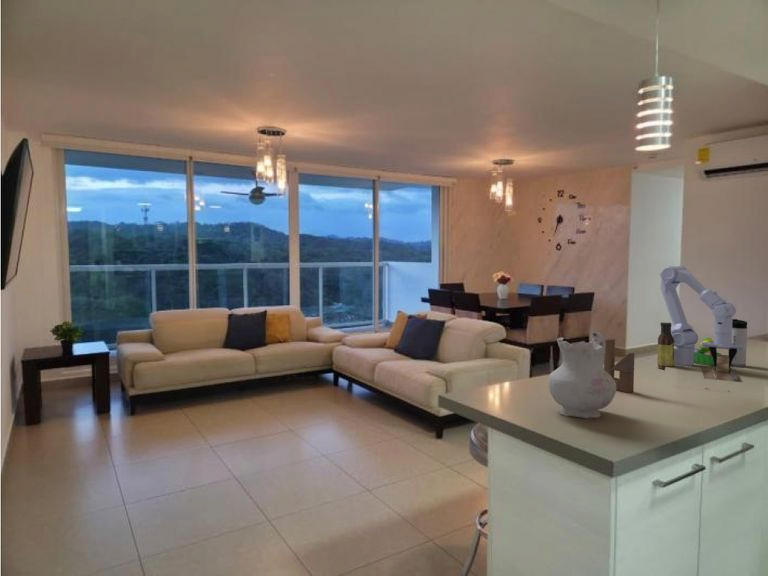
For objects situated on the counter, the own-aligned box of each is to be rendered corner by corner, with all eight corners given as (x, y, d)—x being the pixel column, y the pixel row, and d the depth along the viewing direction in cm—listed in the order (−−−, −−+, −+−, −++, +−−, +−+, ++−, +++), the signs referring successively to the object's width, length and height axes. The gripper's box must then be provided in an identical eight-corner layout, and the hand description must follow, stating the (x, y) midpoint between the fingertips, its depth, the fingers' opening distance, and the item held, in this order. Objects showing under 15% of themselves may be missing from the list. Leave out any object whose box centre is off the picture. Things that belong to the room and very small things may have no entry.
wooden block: (627, 393, 176) (628, 342, 175) (600, 386, 186) (601, 338, 184) (634, 391, 178) (635, 341, 177) (606, 385, 188) (607, 337, 186)
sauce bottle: (676, 370, 210) (677, 323, 208) (660, 370, 211) (661, 323, 209) (670, 367, 216) (671, 321, 215) (654, 366, 217) (655, 321, 216)
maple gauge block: (714, 371, 202) (715, 356, 201) (713, 368, 206) (714, 354, 206) (728, 372, 199) (729, 357, 199) (727, 369, 204) (727, 355, 203)
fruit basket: (685, 361, 227) (686, 337, 226) (697, 359, 230) (698, 335, 230) (710, 366, 216) (711, 341, 216) (723, 364, 220) (724, 339, 219)
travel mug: (739, 363, 221) (741, 319, 220) (748, 367, 215) (750, 321, 213) (724, 363, 222) (726, 318, 221) (733, 366, 215) (735, 320, 214)
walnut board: (703, 382, 191) (704, 376, 190) (700, 370, 210) (701, 364, 209) (742, 385, 185) (742, 379, 184) (735, 373, 204) (735, 367, 204)
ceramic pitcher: (565, 402, 170) (561, 329, 170) (627, 408, 158) (622, 330, 157) (541, 419, 154) (535, 338, 153) (607, 427, 141) (602, 339, 141)
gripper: (702, 333, 202) (701, 366, 203) (746, 335, 195) (745, 370, 195) (701, 330, 208) (700, 363, 209) (744, 333, 201) (743, 366, 202)
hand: (722, 366), depth 202 cm, fingers closed on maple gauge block, 4 cm apart
